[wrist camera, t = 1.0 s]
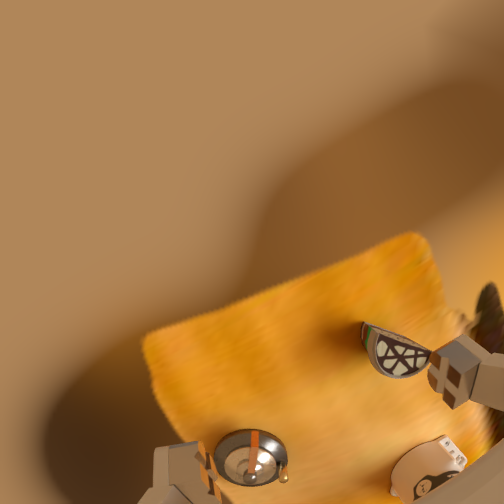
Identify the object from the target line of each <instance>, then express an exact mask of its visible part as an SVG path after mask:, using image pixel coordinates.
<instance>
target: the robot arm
mask: <svg viewBox="0 0 504 504" xmlns="http://www.w3.org/2000/svg"><path fill="white" fill-rule="evenodd" d="M429 361H430V362H431V363H432V364H431V366H430V367H429V369H428V375H427V377H428V381H429V384H430V386H431V387H432V389H433V390H434V391H435V392H437V393H441V394H442V396H443V400H444V401H445V402H446V403H447V405H448V406H449V407H450V408H451V409H452V410H453V409H455V408H457V407H458V406H460V405H461V404H463V403H464V402H466V401H467V400H469V399H470V400H471V401H474V402H477V403H480V404H483V405H486V406H489V407H492V408H495V409H498V410H501V411H504V354H498V353H493V354H492V355H491V354H490V353H489V352H488V351H486V350H485V349H484V348H482V347H481V346H480V345H478V344H477V343H476V342H474V341H473V340H472V339H471V338H469V337H468V336H467V335H464V334H462V335H460V336H459V337H457V338H455V339H454V340H452V341H450V342H448V343H446V344H445V345H443V346H441V347H440V348H438V349H436V350H435V351H433V352H431V354H430V357H429ZM466 463H467V459H466V457H465V456H464V455H463V453H462V452H461V451H460V450H459V449H458V448H457V446H456V445H455V444H454V443H453V442H452V440H451V439H450V438H449V437H448V436H447V435H444V436H442V437H440V438H438V439H437V440H435V441H432V442H427V443H424V444H421V445H419V446H417V447H415V448H414V449H412V450H411V451H409V452H408V453H407V454H405V455H404V456H403V457H402V458H401V459H400V460H399V462H398V463H397V464H396V466H395V467H394V469H393V471H392V475H391V482H392V487H391V489H390V494H391V495H392V496H399V498H400V499H401V501H402V502H403V503H404V504H504V438H503V439H502V440H501V441H500V442H499V443H498V444H496V445H495V446H494V447H493V448H491V449H490V450H489V451H488V452H486V453H485V454H484V455H483V456H481V457H480V458H479V459H477V460H476V461H475V462H473V463H472V464H471V465H469V466H468V467H467V468H465V469H464V466H465V464H466ZM217 478H218V476H217V470H216V467H215V463H214V461H213V459H212V457H211V455H210V454H209V453H207V452H205V446H204V445H203V443H202V442H201V440H199V441H194V442H188V443H182V444H176V445H171V446H165V447H158V448H156V449H155V451H154V467H153V488H149V489H148V490H147V491H146V493H145V494H144V495H143V497H142V498H141V500H140V501H139V502H138V504H222V501H221V495H220V488H219V487H218V485H217V484H216V483H215V481H216V479H217Z"/></svg>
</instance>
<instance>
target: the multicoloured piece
mask: <svg viewBox="0 0 504 504" xmlns="http://www.w3.org/2000/svg"><path fill="white" fill-rule="evenodd" d="M224 469H225V472H226V474H227V475H228V476H229V477H230V478H231V479H232V480H234V481H236V482H238V483H241V484H246V483H245V482H244V481H243V473H244V471H245V470H248V473H255V471H256V473H257V481H256V482H255V483H254V484H246V485H256V484H261V483H264V482H266V481H268V480H269V479H270V478H271V477H272V476H273V475H274V474H275V472H276V459H275V457H274V455H273V454H272V453H271V452H270V451H269V450H268V449H266V448H264V447H262V446H259V431H252V433H251V441H250V445H242V446H238V447H236V448H234V449H232V450H231V451H230V452H229V453H228V454H227V456H226V458H225V464H224Z"/></svg>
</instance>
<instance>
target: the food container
mask: <svg viewBox="0 0 504 504" xmlns="http://www.w3.org/2000/svg"><path fill="white" fill-rule="evenodd" d="M361 340H362V344H363V346H364V347H365V349H366V350H367V352H368V355H369V359H370V361H371V364H372V365H373V367H374V368H375V369H376V370H377V371H378V372H380V373H381V374H383V375H385V376H388V377H391V378H395V379H401V378H408V377H411V376H414V375H416V374H418V373H419V372H421V371H422V370H423V369H424V368H425V367H426V366H427V365H428V364H429V363H430V361H429V357H430V354H431V352H433V351H430V350H428V349H426V348H425V347H423V346H421V345H419V344H418V343H416V342H414V341H412V340H410V339H409V338H407V337H405V336H402V335H399V334H396V333H394V332H391V331H388V330H386V329H383V328H380V327H377V326H375V325H372V324H369V323H367V322H364V321H363V324H362V327H361Z"/></svg>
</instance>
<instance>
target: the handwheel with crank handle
mask: <svg viewBox="0 0 504 504" xmlns="http://www.w3.org/2000/svg"><path fill="white" fill-rule="evenodd" d="M252 431H259V446H262V447H264V448H266V449H268V450H269V451H270V452H271V453H272V454H273V455H274V457H275V459H276V472H275V474H274V475H273V476H272V477H271V478H270V479H269V480H268V481H266V482H264V483H261V484H256V485H246V484H254V483H255V482H256V481H257V473H256V471H255V473H248V470H245V471H244V473H243V481H244V482H245V483H246V484H241V483H238V482H236V481H234V480H232V479H231V478H230V477H229V476H228V475H227V474H226V472H225V469H224V464H225V458H226V456H227V454H228V453H229V452H230V451H231V450H232V449H234V448H236V447H238V446H242V445H250V441H251V433H252ZM287 462H288V460H287V452H286V448H285V446H284V444H283V443H282V442H281V440H280V439H278V438H277V437H276V436H274V435H273V434H271V433H269V432H266V431H262V430H257V429H243V430H238V431H235V432H232V433H230V434H228V435H226V436H225V437H223V438H222V439H221V440H220V442H219V443H218V444H217V446H216V449H215V453H214V463H215V467H216V470H217V471H218V473H219V474H220V475H221V476H222V477H223V478H225V479H226V480H228V481H229V482H232V483H234V484H237V485H241V486H249V487H254V486H262V485H266V484H268V483H271V482H273V481H275V480H276V479H278V478H279V482H281V483H286V482H287V481H288V475H287Z"/></svg>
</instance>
